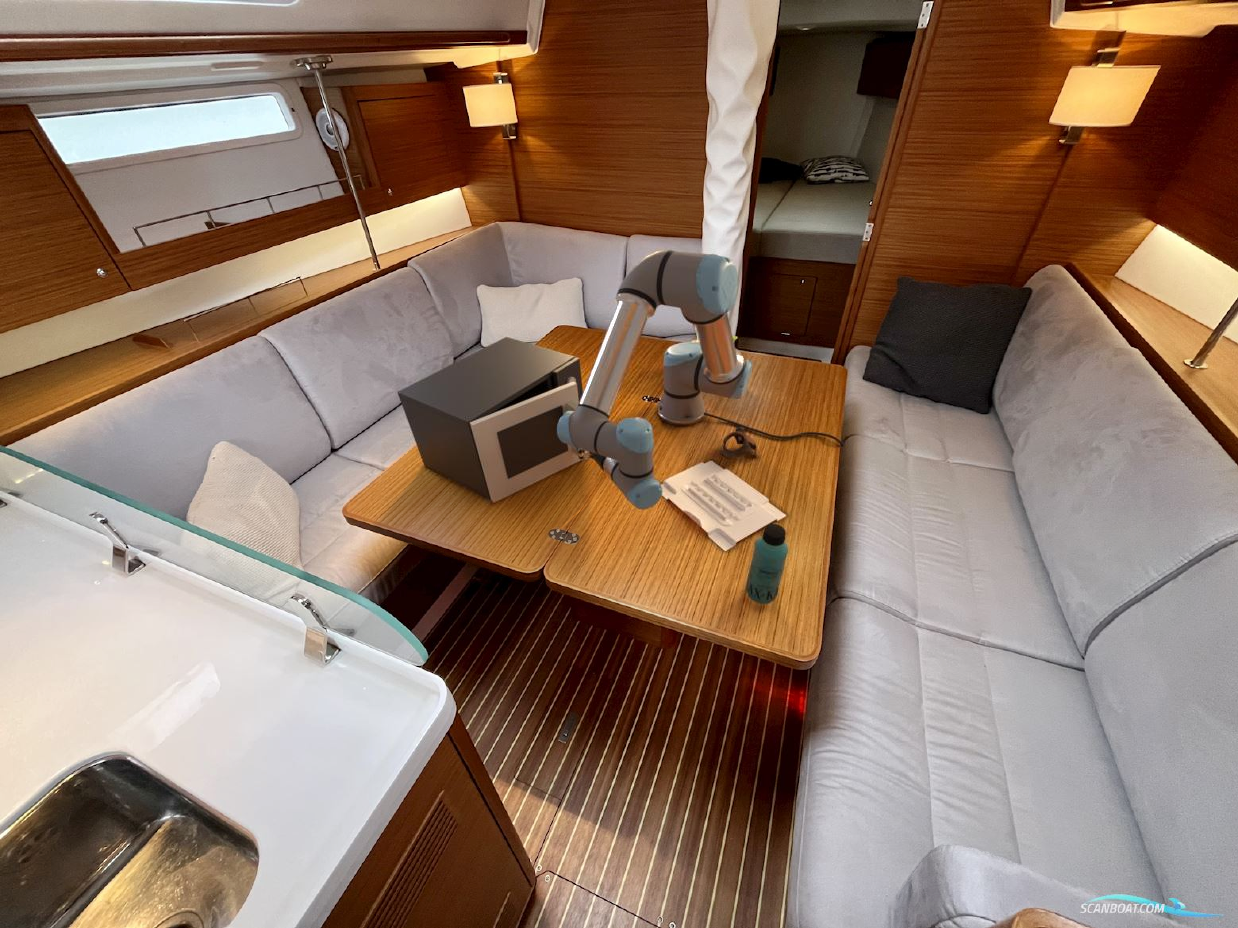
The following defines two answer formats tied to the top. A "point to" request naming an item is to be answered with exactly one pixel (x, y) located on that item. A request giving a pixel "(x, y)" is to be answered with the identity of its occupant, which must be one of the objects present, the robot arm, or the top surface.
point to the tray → (720, 503)
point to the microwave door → (525, 441)
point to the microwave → (478, 402)
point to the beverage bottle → (767, 565)
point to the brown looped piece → (740, 439)
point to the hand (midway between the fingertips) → (575, 416)
